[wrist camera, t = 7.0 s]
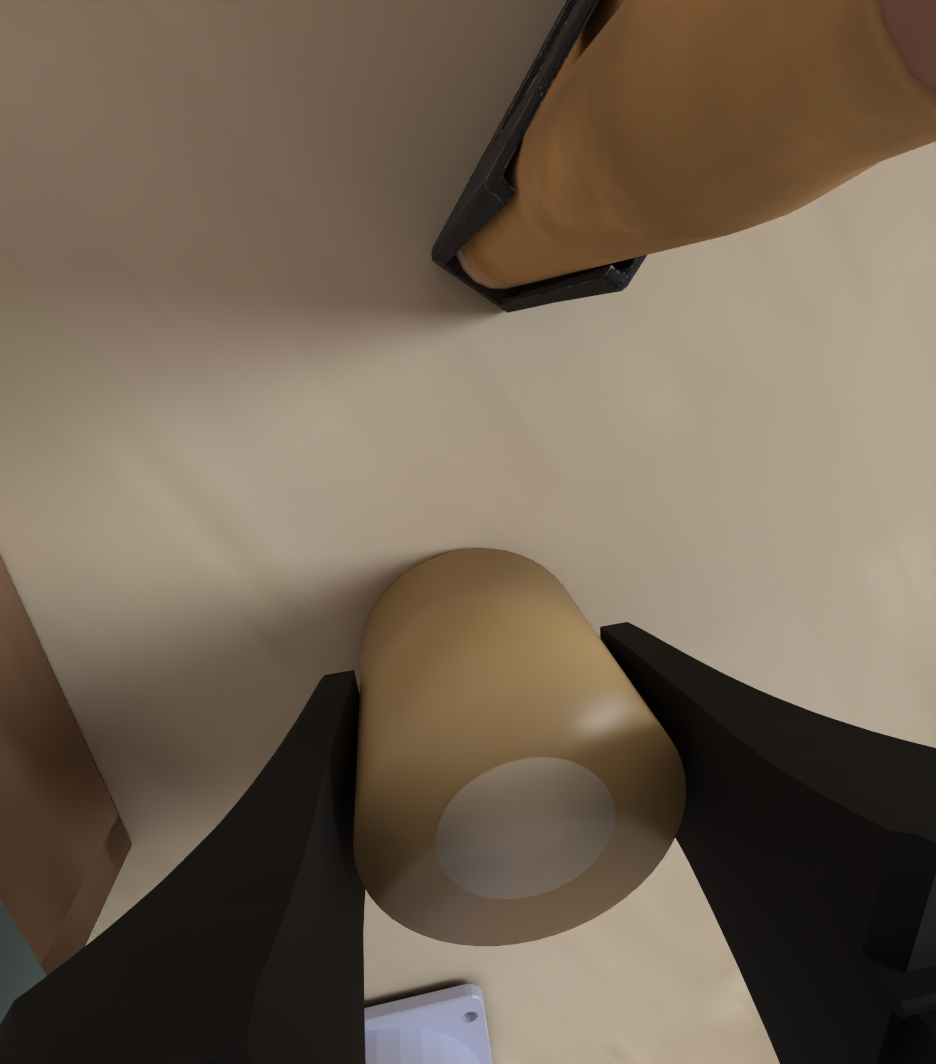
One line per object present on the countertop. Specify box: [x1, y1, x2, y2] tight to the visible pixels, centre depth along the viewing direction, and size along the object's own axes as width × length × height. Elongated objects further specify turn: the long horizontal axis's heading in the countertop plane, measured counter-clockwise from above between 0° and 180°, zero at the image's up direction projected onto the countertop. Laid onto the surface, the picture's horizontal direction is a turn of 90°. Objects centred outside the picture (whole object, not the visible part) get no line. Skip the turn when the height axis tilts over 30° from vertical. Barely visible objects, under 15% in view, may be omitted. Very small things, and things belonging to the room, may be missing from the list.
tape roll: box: [353, 548, 686, 946], centre depth 11 cm, size 5×5×5 cm
